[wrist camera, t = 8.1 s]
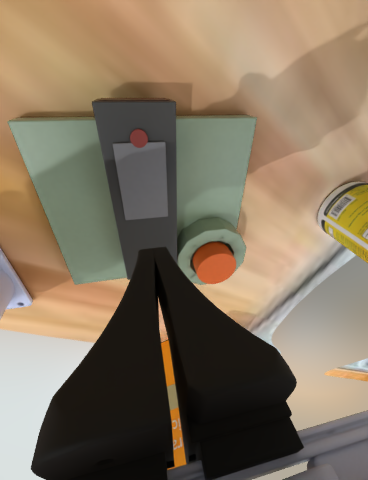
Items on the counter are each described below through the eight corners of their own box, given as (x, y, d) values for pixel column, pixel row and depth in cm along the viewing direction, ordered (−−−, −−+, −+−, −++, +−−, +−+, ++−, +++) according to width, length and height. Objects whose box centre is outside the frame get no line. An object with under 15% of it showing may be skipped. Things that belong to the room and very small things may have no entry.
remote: (173, 256, 21) (178, 274, 19) (127, 261, 21) (127, 281, 18) (169, 97, 14) (176, 100, 12) (96, 97, 13) (90, 100, 11)
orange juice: (137, 353, 33) (146, 601, 17) (189, 329, 32) (248, 567, 16) (161, 369, 38) (186, 576, 22) (207, 349, 37) (266, 548, 21)
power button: (191, 273, 21) (196, 286, 20) (192, 243, 19) (198, 256, 17) (226, 268, 22) (233, 281, 20) (231, 239, 19) (239, 251, 18)
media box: (78, 277, 22) (71, 304, 20) (16, 117, 14) (-12, 126, 11) (227, 257, 25) (239, 279, 22) (251, 114, 17) (275, 121, 14)
